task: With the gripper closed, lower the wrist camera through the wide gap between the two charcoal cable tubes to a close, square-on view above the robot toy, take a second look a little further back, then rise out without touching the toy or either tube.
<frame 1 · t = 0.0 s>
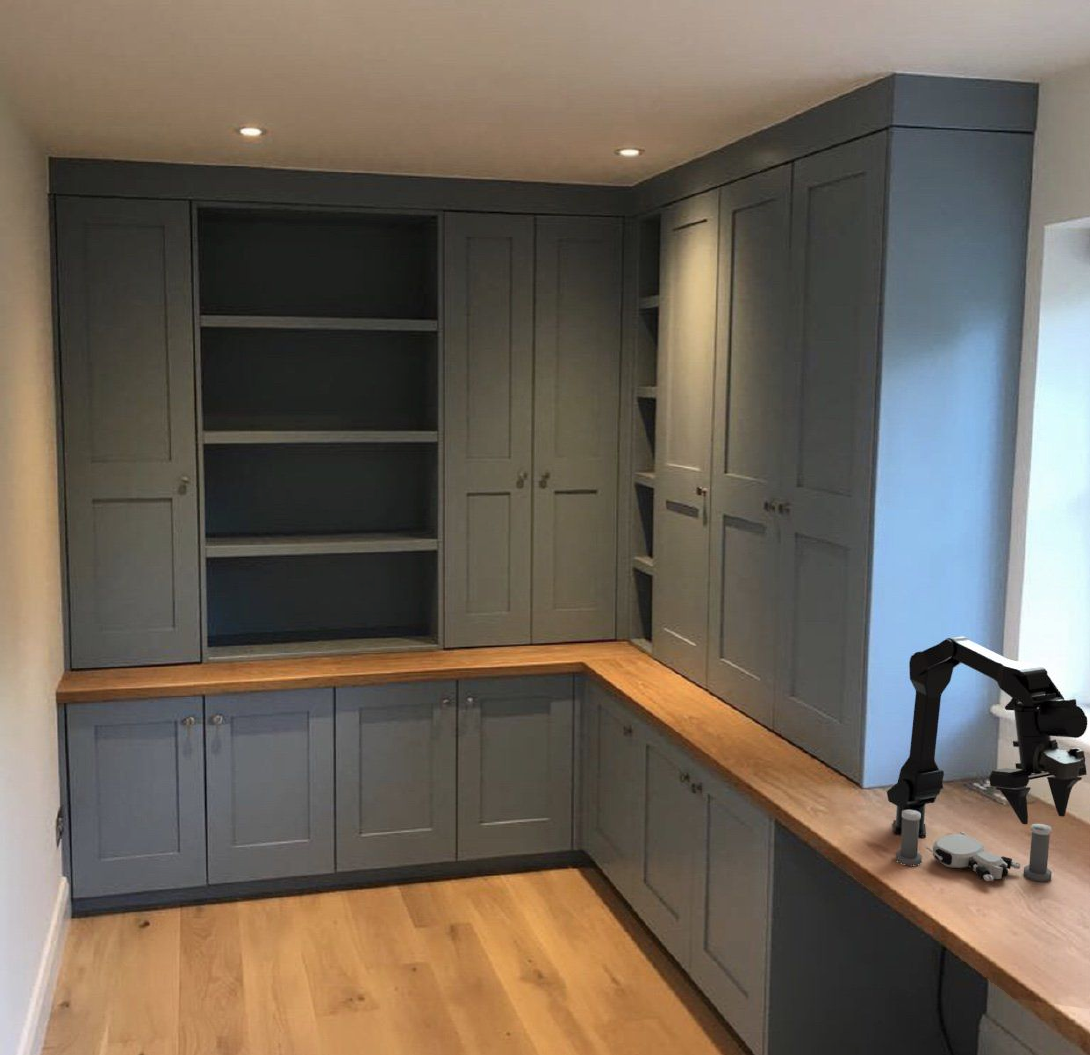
hand: (1043, 820, 227), 15 cm above the worktop, tool pointing down, fingers open, 9 cm apart
tube 2: (1037, 876, 239), on the worktop
robot toy: (971, 870, 242), on the worktop
tube 1: (908, 861, 246), on the worktop
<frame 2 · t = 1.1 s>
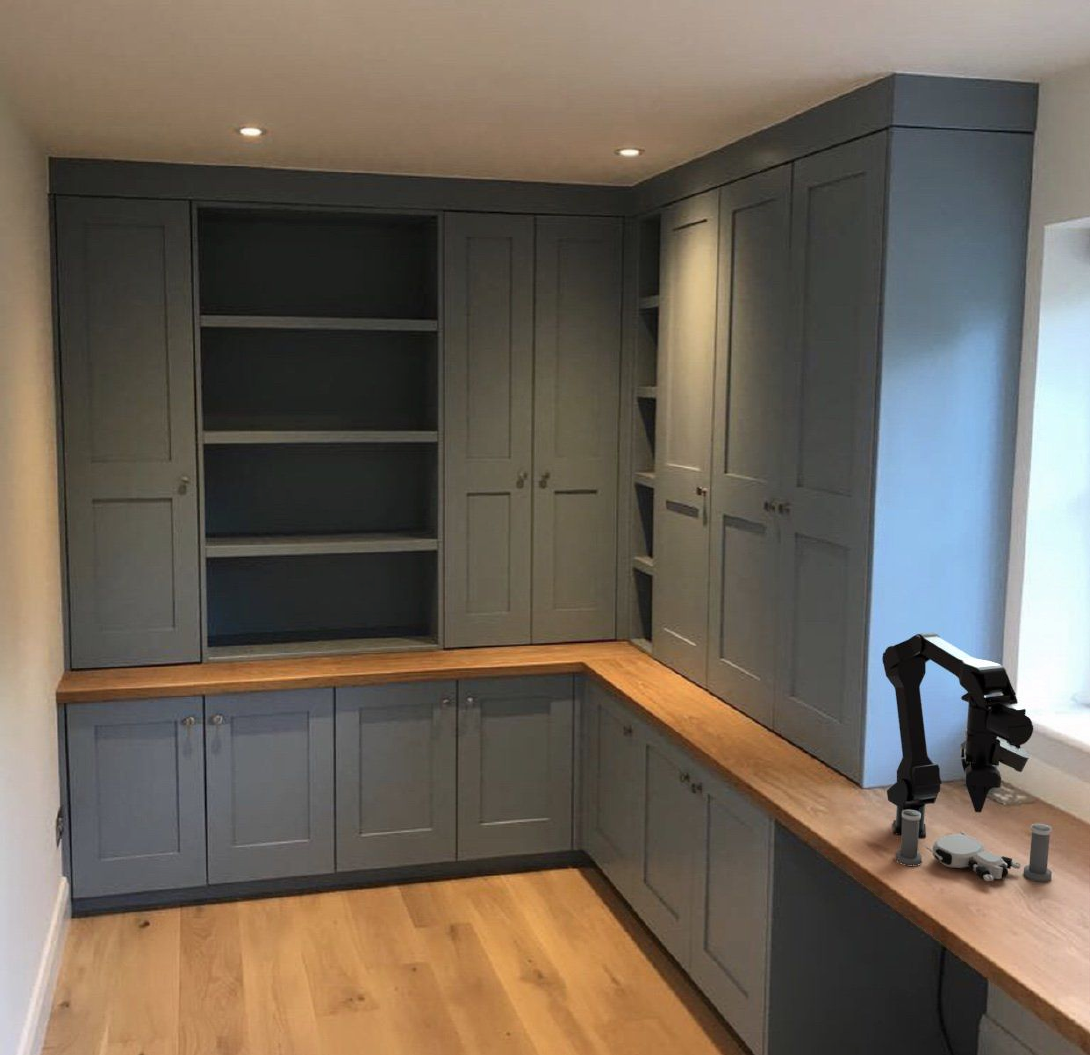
hand: (976, 805, 240), 13 cm above the worktop, tool pointing down, fingers open, 6 cm apart
nothing on the worktop moved.
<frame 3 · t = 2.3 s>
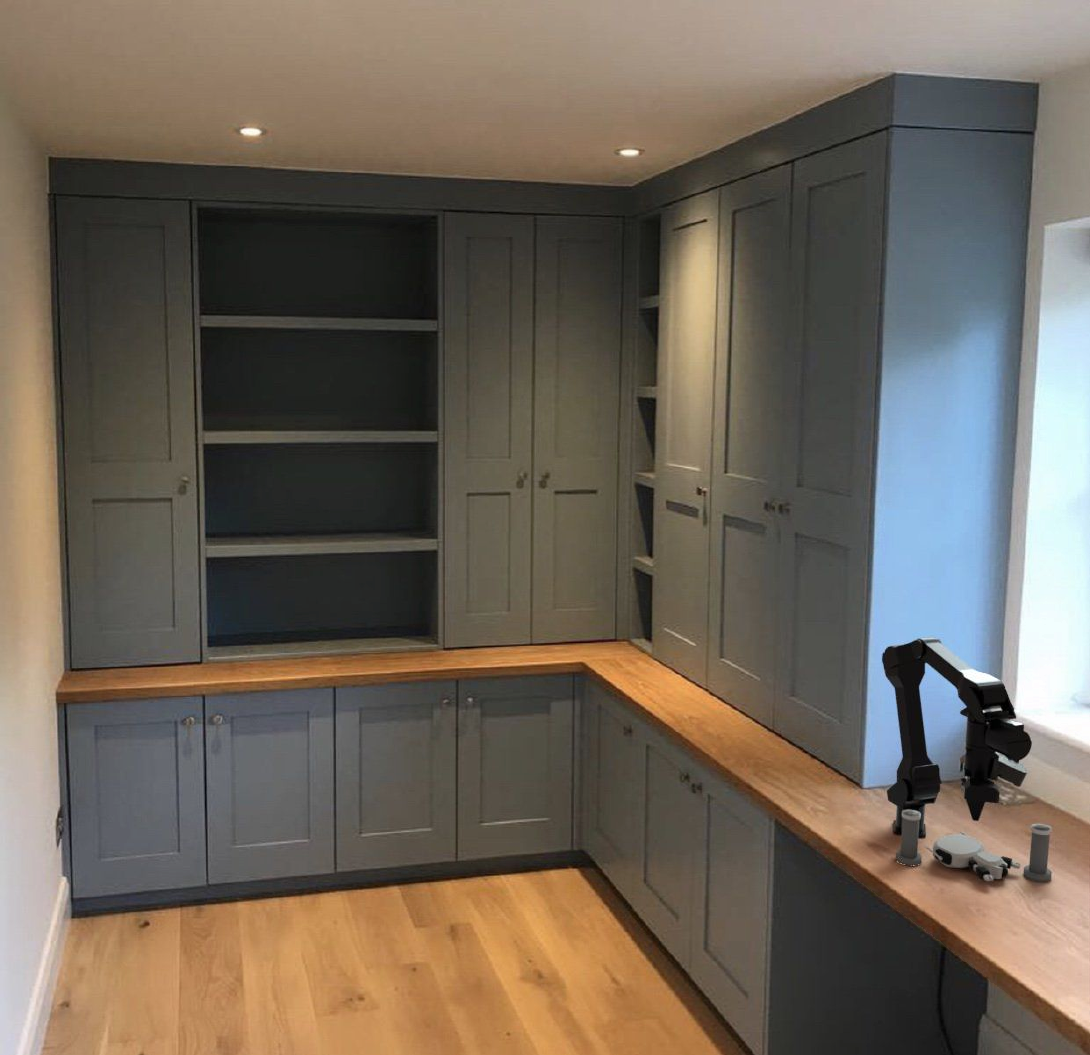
hand: (975, 820, 241), 10 cm above the worktop, tool pointing down, fingers closed
nothing on the worktop moved.
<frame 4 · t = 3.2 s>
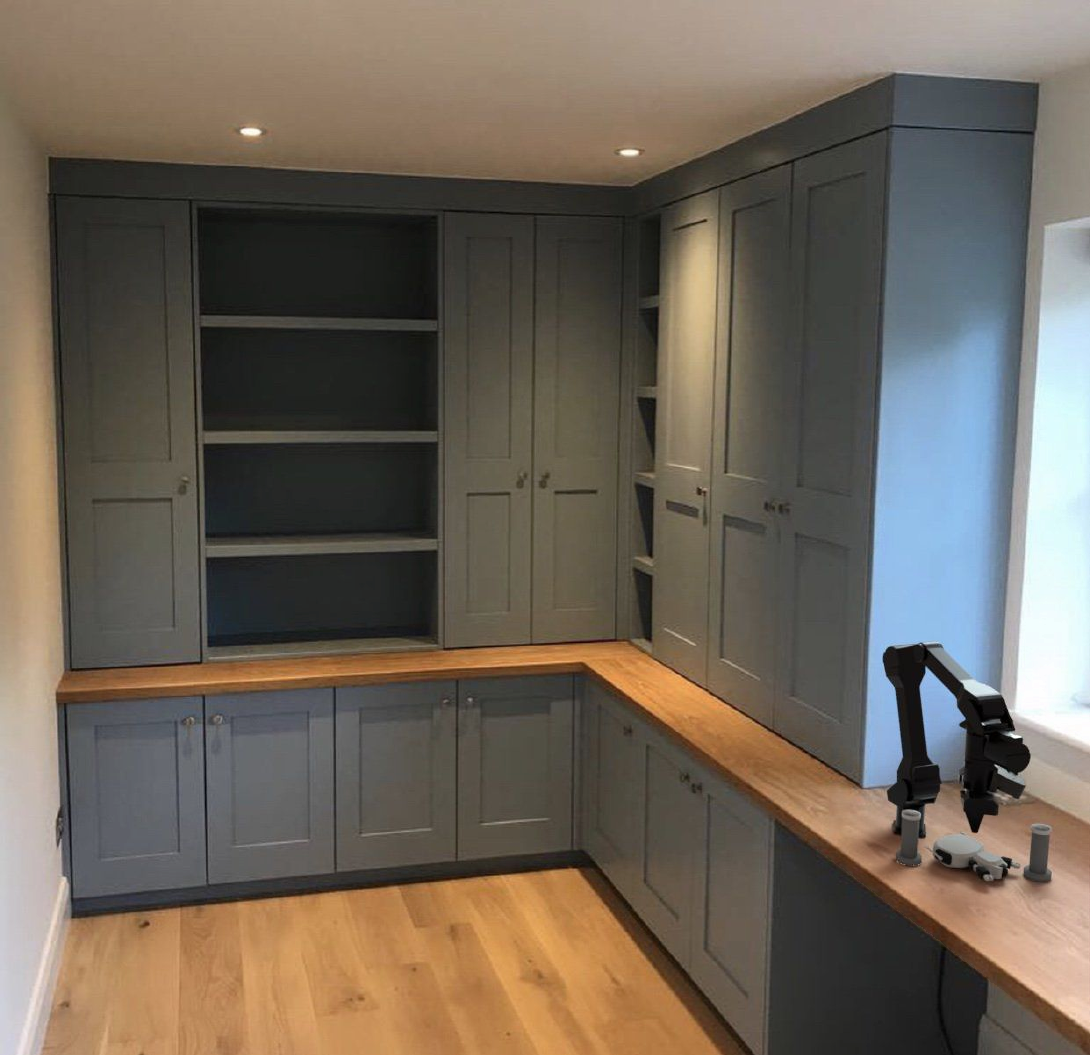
hand: (974, 832, 241), 8 cm above the worktop, tool pointing down, fingers closed
nothing on the worktop moved.
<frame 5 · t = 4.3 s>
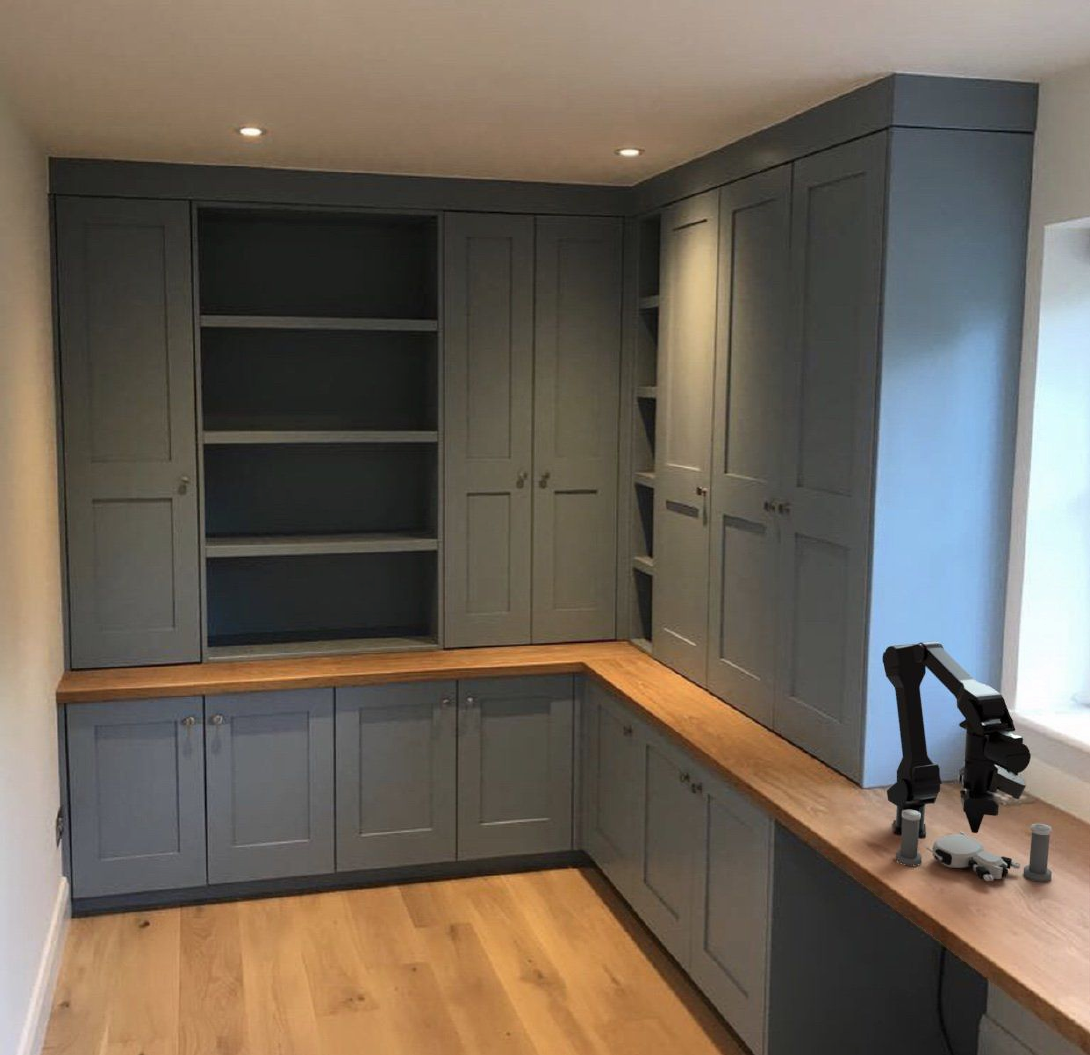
hand: (974, 832, 241), 8 cm above the worktop, tool pointing down, fingers closed
nothing on the worktop moved.
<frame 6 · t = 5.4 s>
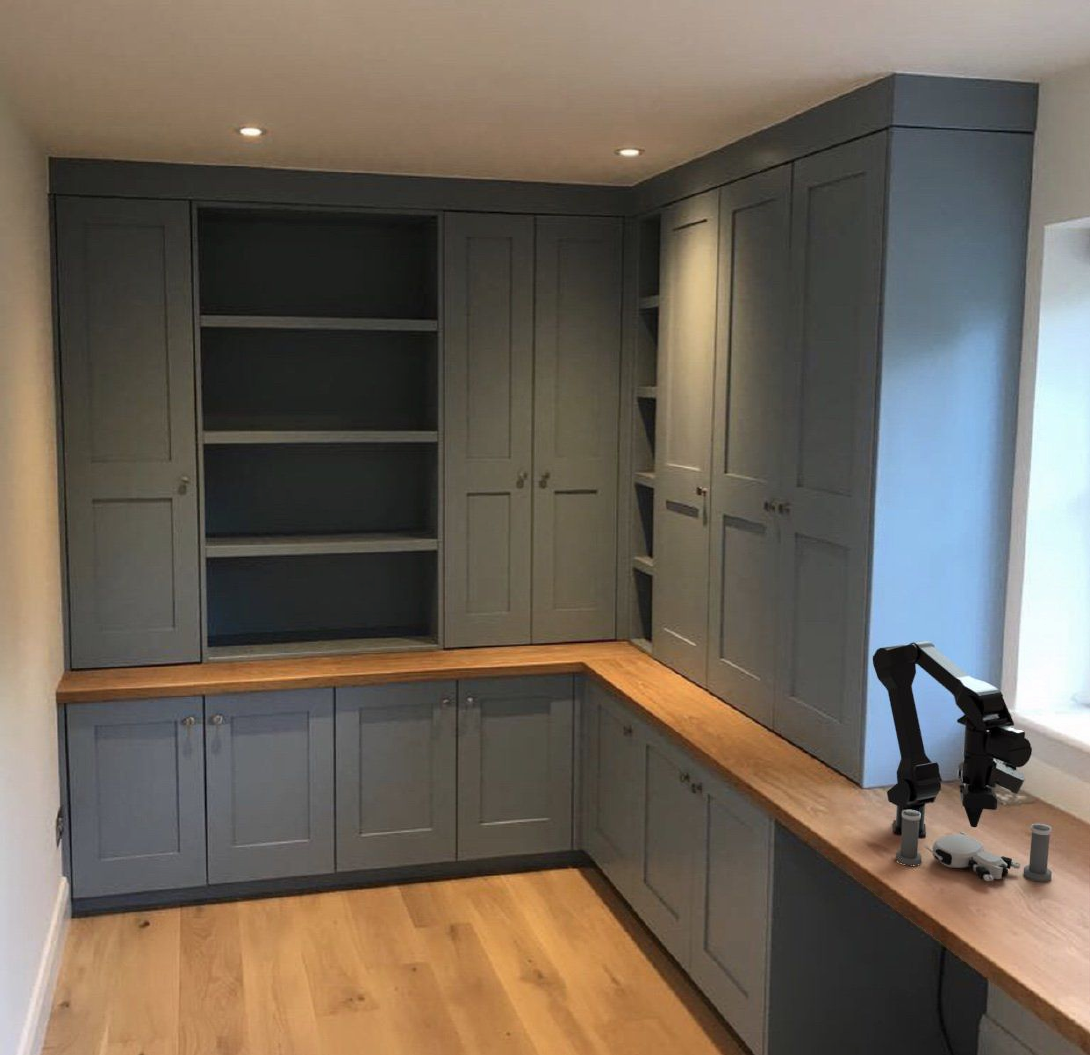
hand: (973, 826, 244), 7 cm above the worktop, tool pointing down, fingers closed
nothing on the worktop moved.
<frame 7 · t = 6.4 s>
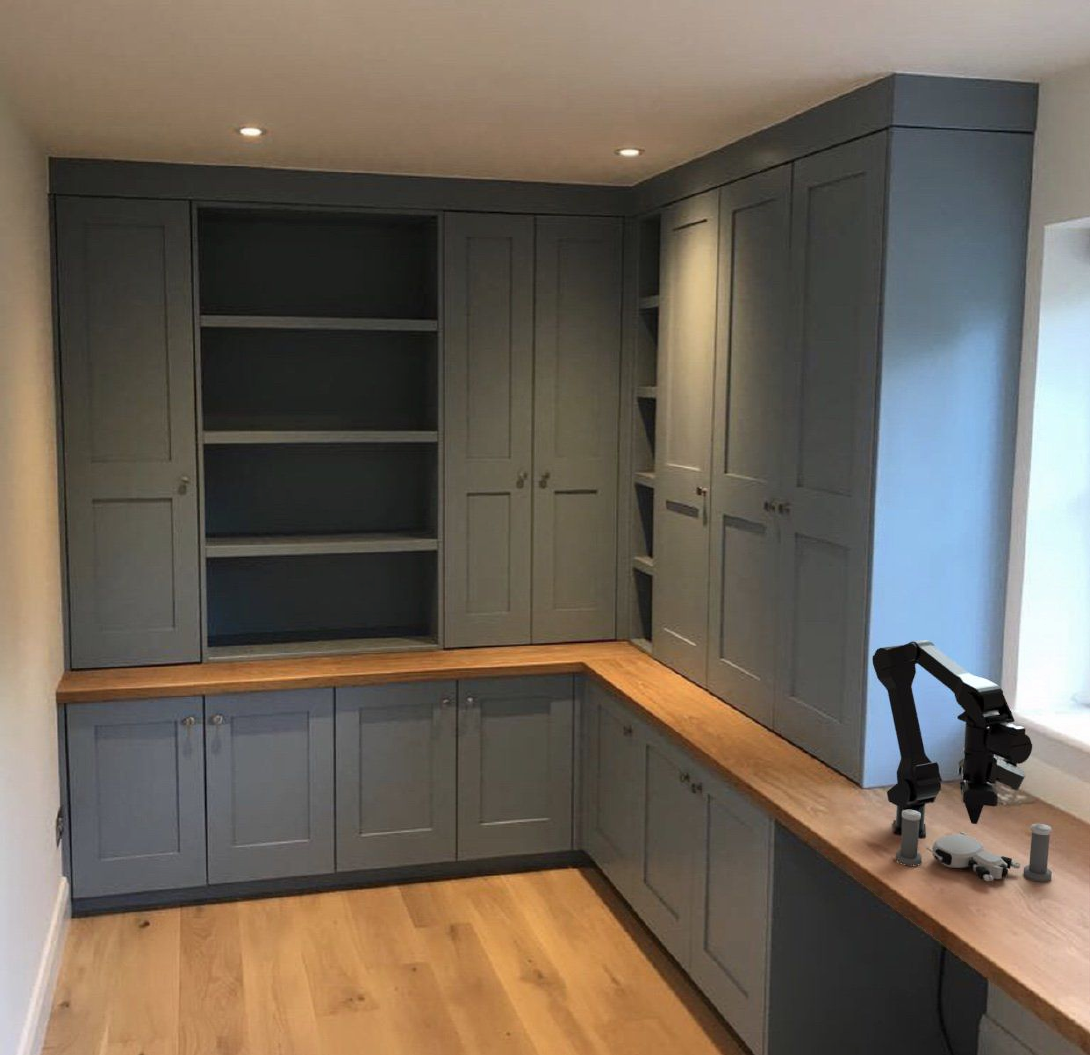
hand: (974, 823, 244), 8 cm above the worktop, tool pointing down, fingers closed
nothing on the worktop moved.
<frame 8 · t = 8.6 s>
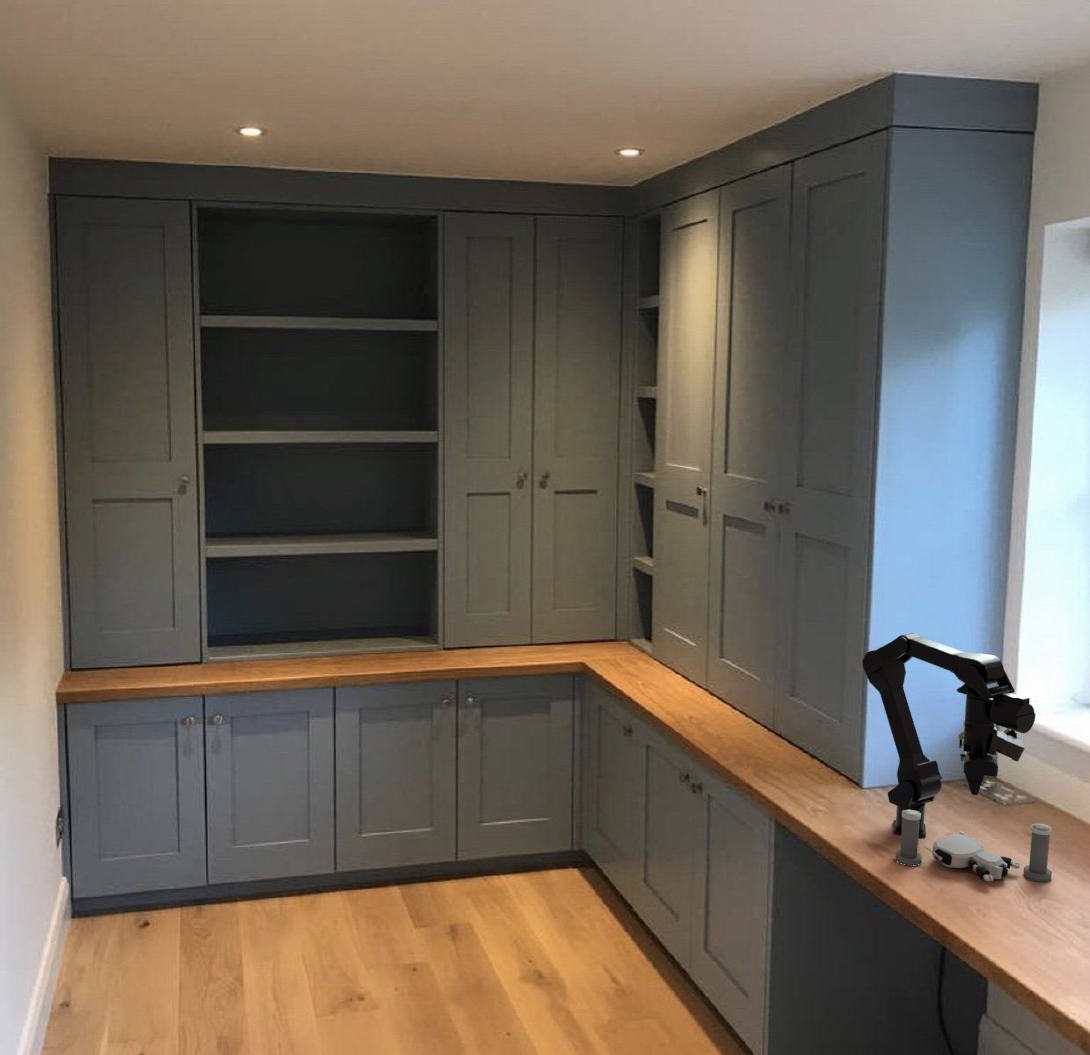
hand: (974, 794, 246), 13 cm above the worktop, tool pointing down, fingers closed
nothing on the worktop moved.
at the end: robot toy moved 0.5 cm from its start; tube 1 moved 0.0 cm from its start; tube 2 moved 0.0 cm from its start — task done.
